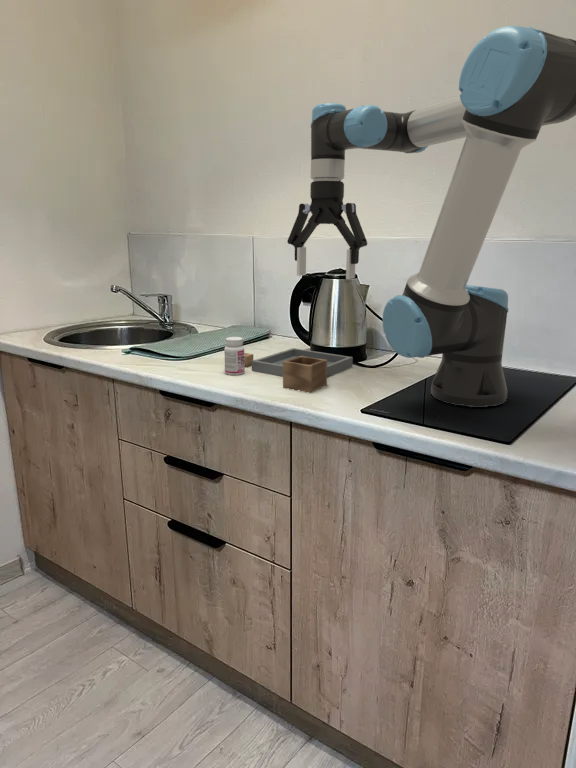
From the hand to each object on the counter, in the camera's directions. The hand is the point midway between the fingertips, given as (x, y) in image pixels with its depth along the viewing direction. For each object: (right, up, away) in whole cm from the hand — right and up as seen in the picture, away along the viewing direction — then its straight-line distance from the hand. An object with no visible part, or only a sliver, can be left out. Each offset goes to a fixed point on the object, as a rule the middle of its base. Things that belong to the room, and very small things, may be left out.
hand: (325, 277), depth 134 cm
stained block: (-21, -20, +11) cm, 31 cm away
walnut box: (-5, -26, -8) cm, 27 cm away
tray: (-5, -21, +7) cm, 23 cm away
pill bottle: (-21, -23, +3) cm, 31 cm away
